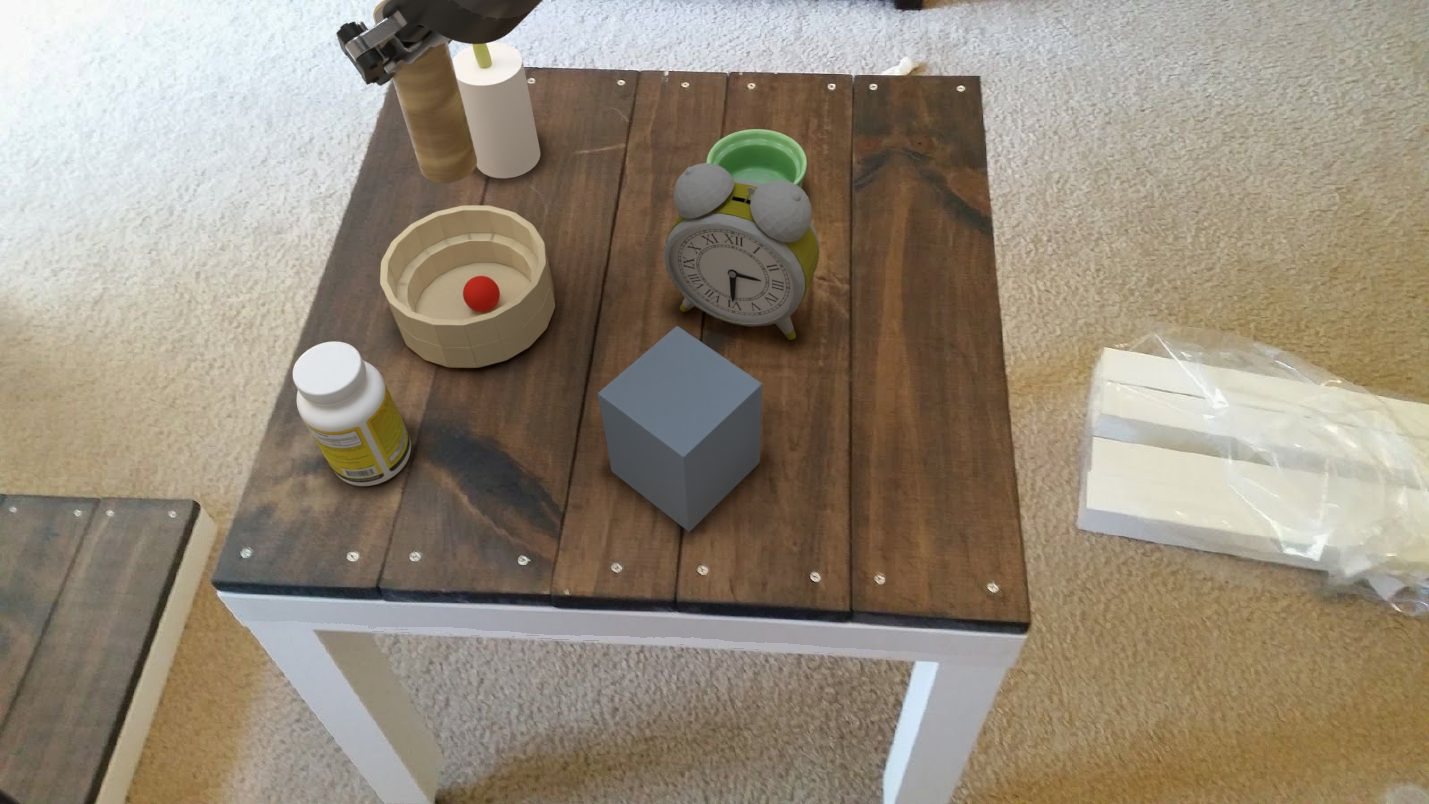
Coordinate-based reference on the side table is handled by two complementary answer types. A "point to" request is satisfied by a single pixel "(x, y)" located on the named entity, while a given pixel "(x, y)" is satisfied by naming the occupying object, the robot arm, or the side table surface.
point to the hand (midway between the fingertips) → (401, 53)
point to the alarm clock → (741, 247)
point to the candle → (498, 108)
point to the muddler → (435, 116)
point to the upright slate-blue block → (682, 426)
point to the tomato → (481, 293)
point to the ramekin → (760, 156)
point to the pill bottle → (350, 414)
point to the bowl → (443, 260)
